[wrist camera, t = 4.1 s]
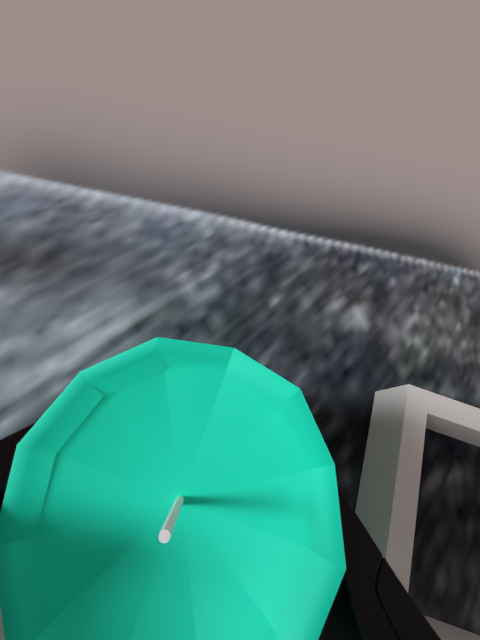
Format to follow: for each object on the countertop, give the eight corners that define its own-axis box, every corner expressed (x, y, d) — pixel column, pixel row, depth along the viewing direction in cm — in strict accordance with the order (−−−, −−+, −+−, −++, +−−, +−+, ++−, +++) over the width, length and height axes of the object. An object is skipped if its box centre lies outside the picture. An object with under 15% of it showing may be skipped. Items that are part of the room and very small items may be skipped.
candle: (236, 547, 14) (351, 1057, 3) (113, 501, 14) (-284, 795, 3) (274, 415, 16) (428, 384, 5) (166, 376, 16) (63, 255, 5)
